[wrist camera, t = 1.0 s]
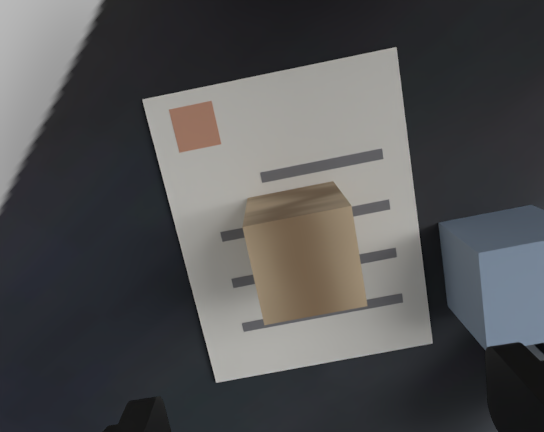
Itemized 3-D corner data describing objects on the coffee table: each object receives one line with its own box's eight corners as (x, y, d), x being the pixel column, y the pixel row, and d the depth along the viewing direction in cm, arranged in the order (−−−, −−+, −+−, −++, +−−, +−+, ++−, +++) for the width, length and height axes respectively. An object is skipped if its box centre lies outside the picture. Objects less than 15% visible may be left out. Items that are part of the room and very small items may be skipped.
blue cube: (530, 204, 28) (593, 231, 22) (535, 289, 29) (595, 333, 24) (437, 222, 28) (478, 252, 23) (447, 305, 29) (487, 352, 24)
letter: (395, 47, 25) (396, 46, 25) (431, 341, 30) (433, 343, 30) (142, 99, 26) (141, 99, 26) (216, 380, 30) (216, 383, 30)
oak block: (333, 181, 27) (351, 205, 21) (346, 261, 28) (367, 306, 22) (247, 197, 27) (242, 227, 21) (264, 277, 28) (264, 325, 23)
